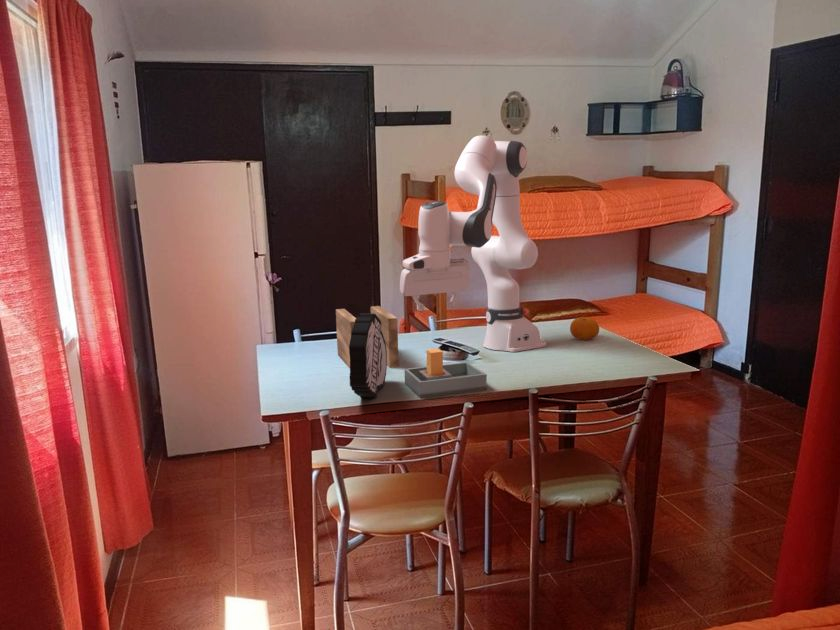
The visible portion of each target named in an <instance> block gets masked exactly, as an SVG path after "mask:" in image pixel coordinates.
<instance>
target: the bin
mask: <svg viewBox="0 0 840 630" xmlns="http://www.w3.org/2000/svg"><path fill="white" fill-rule="evenodd" d="M403 369H404V385H405V386H406V387H408V388H409V389H410V390H411V391H412V392H413V393H414V394H415V395H416V396H417V397H418V398H419V399H425V398H429V397H431V398H432V397H440V396H446V395H455V394H462V393H471V392H477V391H486V390H487V378H488V377H487V373H485V372H483V371H482V370H481V369H480V368H477V367H476V366H474V365H473V364H471V363H469V362H468V361H465V362H457V363H456V362H455V363H446V364H445V363H444V364H443V369H444V370H446V371H447V372H448V373H450V374H451V375H452V378H445V379H437V380H428V381H421V380H420V379H419V371H422V370H427V366H422V367H421V366H419V367H411V368H403Z"/></svg>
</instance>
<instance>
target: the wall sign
mask: <svg viewBox="0 0 840 630" xmlns="http://www.w3.org/2000/svg"><path fill="white" fill-rule="evenodd" d="M355 318H356V319H355V323H354V325H353V328H352V333H351V339H350V344H349V355H350V368H349V386H350V387H351V391H353V393H354V394H355V395H357V396H358V397H359V398H363V399H377V395H378V391H379V390H380V389H382V388H383V387H384V386H385V382H386V377H387V375H386V374H387V367H388V366H387V349H386V343H385V340H384V337H383V334H382V331H381V321H380V319H379V318H378V317H377V316H376V314H371V313H359V316H356V317H355Z"/></svg>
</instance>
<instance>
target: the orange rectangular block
mask: <svg viewBox="0 0 840 630" xmlns="http://www.w3.org/2000/svg"><path fill="white" fill-rule="evenodd" d="M443 365H444V352H443V351H442V350H441V349H439V348H434V349H432V348H431V349H426V367H427V374H428V375H429V376H436V375H443Z"/></svg>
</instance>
